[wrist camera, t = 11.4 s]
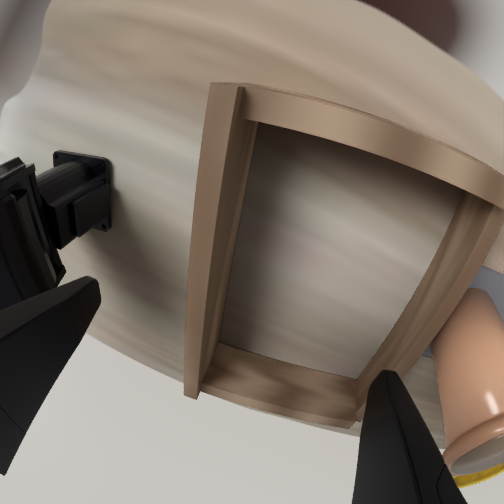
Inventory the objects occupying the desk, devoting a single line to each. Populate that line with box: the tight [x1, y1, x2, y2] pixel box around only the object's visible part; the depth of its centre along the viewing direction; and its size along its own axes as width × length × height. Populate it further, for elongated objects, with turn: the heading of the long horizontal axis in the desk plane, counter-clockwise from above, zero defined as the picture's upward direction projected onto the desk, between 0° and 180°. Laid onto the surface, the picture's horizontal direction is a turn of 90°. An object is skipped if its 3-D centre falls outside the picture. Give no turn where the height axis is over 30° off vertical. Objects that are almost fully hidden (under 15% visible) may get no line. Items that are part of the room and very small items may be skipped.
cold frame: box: [184, 83, 504, 429], centre depth 20 cm, size 16×24×6 cm
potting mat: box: [421, 266, 504, 358], centre depth 21 cm, size 10×10×1 cm
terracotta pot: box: [429, 288, 504, 476], centre depth 15 cm, size 7×7×13 cm
